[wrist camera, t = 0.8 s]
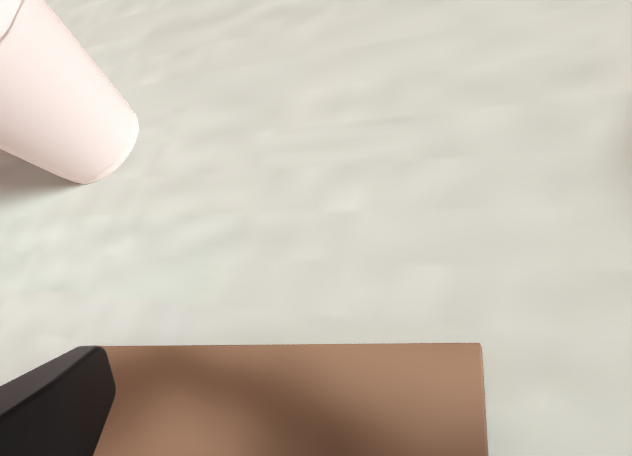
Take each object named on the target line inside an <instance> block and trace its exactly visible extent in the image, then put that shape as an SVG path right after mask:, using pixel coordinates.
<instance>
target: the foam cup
mask: <svg viewBox="0 0 632 456" xmlns="http://www.w3.org/2000/svg"><path fill="white" fill-rule="evenodd" d="M138 132H139V126H138V120H137V115H136V114H135V113H134V112H133V111H132V108H131V107H130V106H129V105H128V103H127V102H126V101H125V100H124V98H123V97H122V96H121V95H120V94H119V92H118V91H117V90H116V89H115V87H114V86H113V85H112V84H111V82H110V81H109V80H108V79H107V77H106V76H105V75H104V74H103V72H102V71H101V70H100V69H99V68H98V66H97V65H96V64H95V63H94V61H93V60H92V59H91V58H90V56H89V55H88V54H87V53H86V51H85V50H84V49H83V48H82V46H81V45H80V44H79V43H78V42H77V40H76V39H75V38H74V37H73V35H72V34H71V33H70V32H69V30H68V29H67V28H66V27H65V25H64V24H63V23H62V22H61V21H60V19H59V18H58V17H57V16H56V14H55V13H54V12H53V11H52V9H51V8H50V7H49V6H48V4H47V3H46V2H45V1H44V0H0V149H1V150H3V151H6V152H8V153H10V154H12V155H14V156H16V157H19V158H21V159H23V160H25V161H27V162H29V163H31V164H34V165H36V166H38V167H40V168H42V169H44V170H47V171H49V172H51V173H53V174H55V175H57V176H60V177H62V178H65V179H68V180H70V181H71V182H75V183H80V184H85V185H86V184H89V183H92V182H96V181H99V180H102V179H104V178H105V177H107V176H108V175H109V174H111V173H112V172H113V171H115V170H116V169H117V168H118V167H120V166H121V165H122V163H123V162H124V161H125V159H126V158H127V156H128V155H129V154H130V152H131V151H132V150H133V148H134V145H135V142H136V138H137V135H138Z"/></svg>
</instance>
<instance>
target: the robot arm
mask: <svg viewBox="0 0 632 456" xmlns="http://www.w3.org/2000/svg"><path fill="white" fill-rule="evenodd" d="M115 394H116V385H115V380H114V377H113V373H112V369H111V366H110V362H109V359H108V355H107V352H106V350H105V349H104V348H103V347H101V346H80V347H77V348H75V349H73V350H71V351H69V352H67V353H65V354H63V355H61V356H59V357H57V358H55V359H53V360H51V361H49V362H47V363H45V364H43V365H41V366H39V367H37V368H35V369H34V370H32V371H30V372H28V373H26V374H24V375H22V376H20V377H18V378H16V379H14V380H12V381H10V382H8V383H6V384H4V385H2V386H0V456H93V455H94V452H95V449H96V447H97V444H98V441H99V439H100V436H101V433H102V431H103V428H104V425H105V423H106V420H107V417H108V415H109V412H110V409H111V407H112V404H113V401H114V398H115Z"/></svg>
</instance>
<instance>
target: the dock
mask: <svg viewBox="0 0 632 456" xmlns="http://www.w3.org/2000/svg"><path fill="white" fill-rule="evenodd" d="M101 347H103V348H104V349H105V350H106V352H107V355H108V359H109V362H110V366H111V369H112V373H113V377H114V380H115V385H116V394H115V398H114V401H113V404H112V407H111V409H110V412H109V415H108V417H107V420H106V423H105V425H104V428H103V431H102V433H101V436H100V439H99V441H98V444H97V447H96V449H95V452H94V455H93V456H488V443H487V427H486V410H485V393H484V376H483V359H482V348H481V345H480V343H409V344H300V345H191V346H101Z"/></svg>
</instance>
